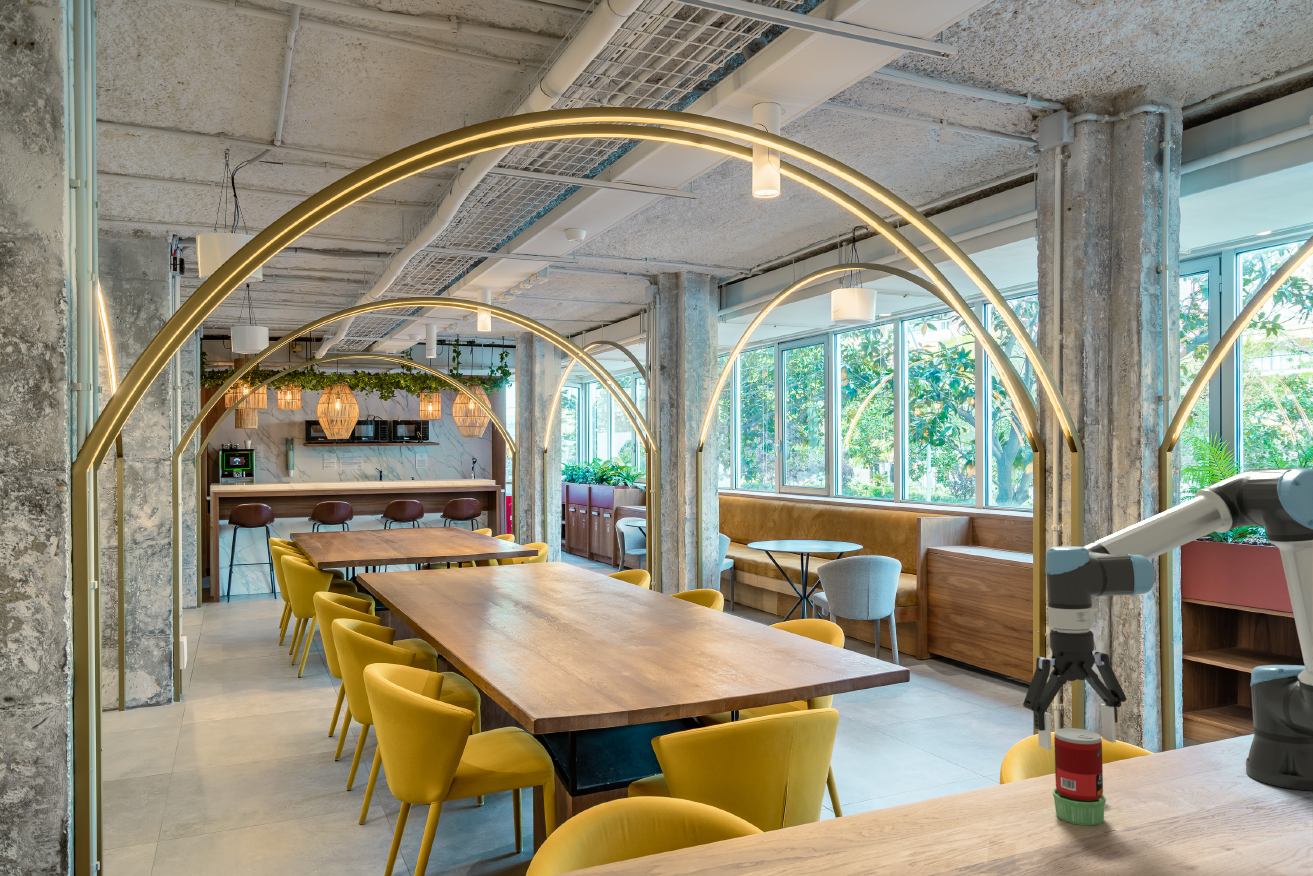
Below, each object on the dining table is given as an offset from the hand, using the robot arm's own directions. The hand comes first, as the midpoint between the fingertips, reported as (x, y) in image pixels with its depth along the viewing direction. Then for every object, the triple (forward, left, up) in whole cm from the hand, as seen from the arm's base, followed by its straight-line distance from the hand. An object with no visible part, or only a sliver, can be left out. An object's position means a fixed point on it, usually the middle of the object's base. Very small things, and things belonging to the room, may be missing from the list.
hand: (1077, 744), depth 166 cm
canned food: (0, 0, -9) cm, 9 cm away
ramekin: (0, 0, -14) cm, 14 cm away
